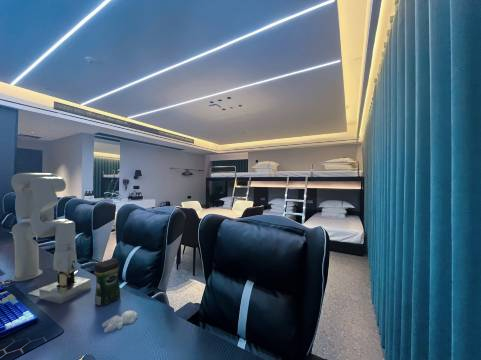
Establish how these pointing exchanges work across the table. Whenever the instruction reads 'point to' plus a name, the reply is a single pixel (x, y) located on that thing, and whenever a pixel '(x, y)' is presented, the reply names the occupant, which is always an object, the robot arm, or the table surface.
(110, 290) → the coffee jar
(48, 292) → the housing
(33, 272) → the robot arm
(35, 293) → the mat
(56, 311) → the table surface
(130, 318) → the astronaut figurine
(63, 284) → the end cover
